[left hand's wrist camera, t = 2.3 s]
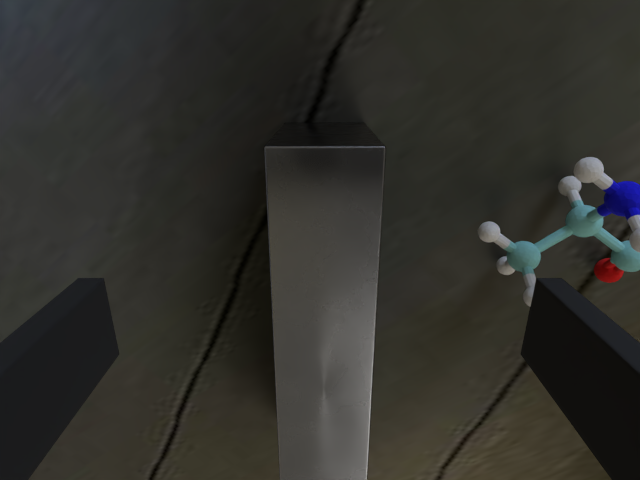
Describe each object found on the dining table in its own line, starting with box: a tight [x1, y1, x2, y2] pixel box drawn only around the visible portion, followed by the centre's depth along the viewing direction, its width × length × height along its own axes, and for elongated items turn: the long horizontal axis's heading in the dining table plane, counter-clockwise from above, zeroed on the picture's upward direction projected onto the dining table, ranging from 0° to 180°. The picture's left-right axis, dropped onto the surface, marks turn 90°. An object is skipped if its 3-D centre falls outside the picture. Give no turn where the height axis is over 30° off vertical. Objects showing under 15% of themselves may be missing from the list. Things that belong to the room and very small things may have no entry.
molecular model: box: [478, 157, 640, 306], centre depth 24 cm, size 12×10×10 cm
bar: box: [264, 123, 386, 480], centre depth 25 cm, size 24×5×9 cm, turn 0°
